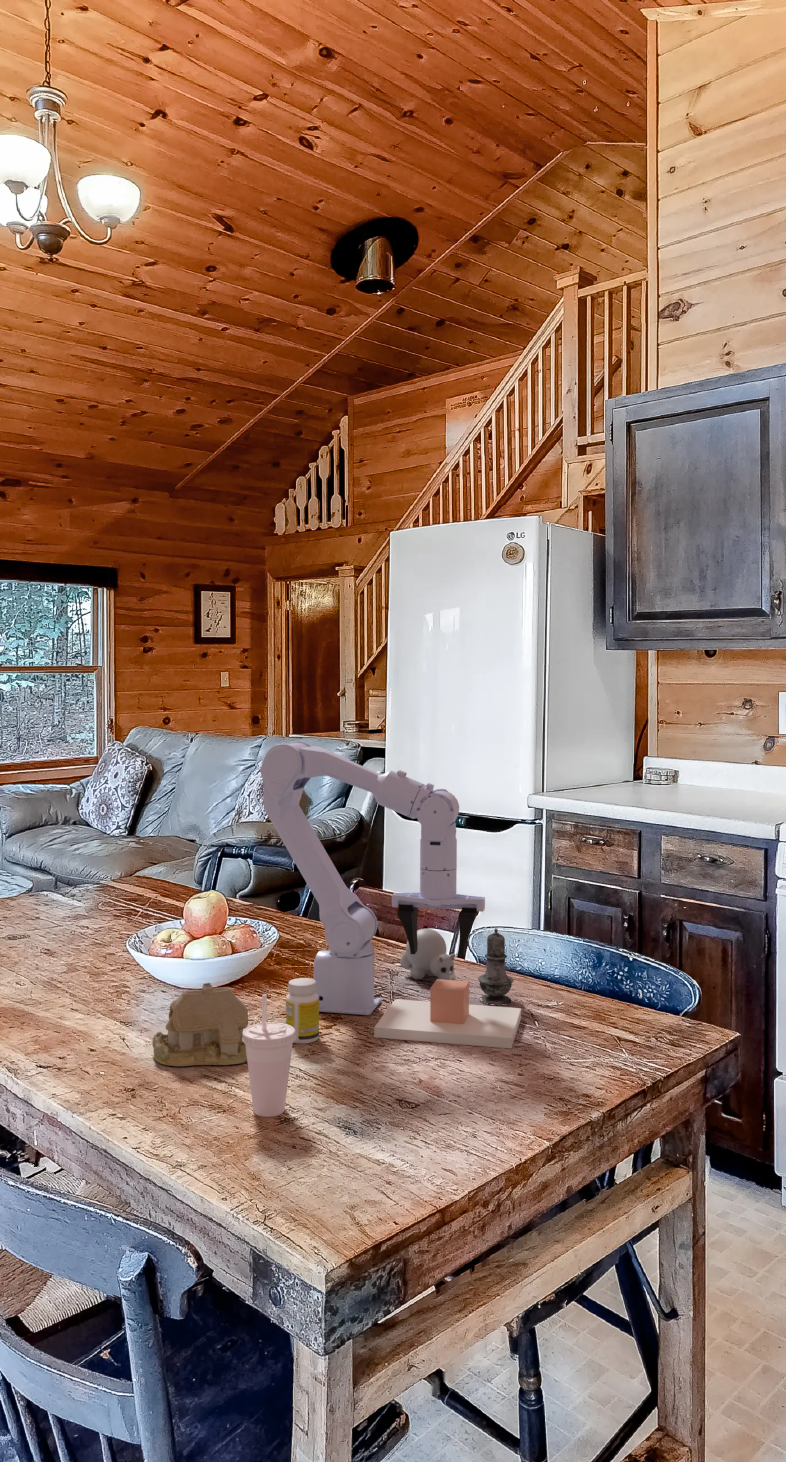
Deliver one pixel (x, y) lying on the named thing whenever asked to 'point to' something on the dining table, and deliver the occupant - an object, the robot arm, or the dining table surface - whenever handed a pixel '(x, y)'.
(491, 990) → the salt shaker
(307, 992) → the supplement bottle
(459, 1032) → the tray
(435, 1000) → the cube
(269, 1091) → the smoothie
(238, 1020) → the ceramic model
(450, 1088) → the dining table surface
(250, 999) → the dining table surface
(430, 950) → the round bodied animal figurine
